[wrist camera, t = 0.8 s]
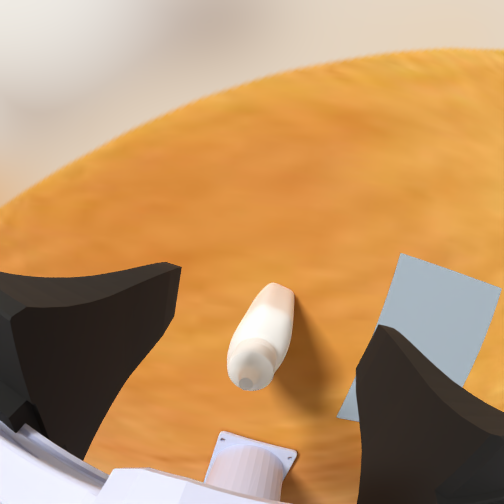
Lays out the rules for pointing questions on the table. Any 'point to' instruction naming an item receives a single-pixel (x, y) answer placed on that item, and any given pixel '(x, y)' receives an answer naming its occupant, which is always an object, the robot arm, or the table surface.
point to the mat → (435, 318)
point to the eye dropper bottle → (262, 338)
